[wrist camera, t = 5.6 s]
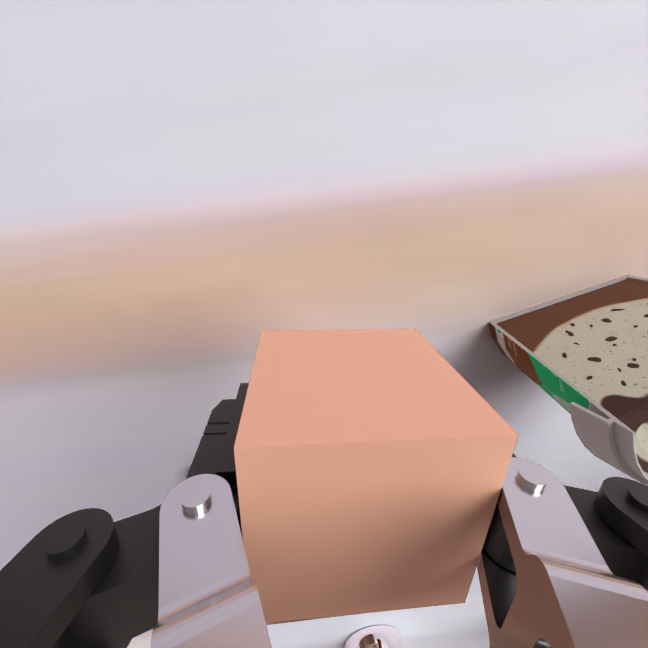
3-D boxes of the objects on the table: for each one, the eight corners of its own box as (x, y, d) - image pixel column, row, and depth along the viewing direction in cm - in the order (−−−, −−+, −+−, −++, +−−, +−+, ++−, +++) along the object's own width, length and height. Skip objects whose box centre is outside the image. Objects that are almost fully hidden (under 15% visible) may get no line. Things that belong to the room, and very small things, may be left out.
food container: (477, 402, 23) (610, 542, 13) (466, 329, 20) (618, 438, 11) (640, 347, 22) (890, 451, 13) (649, 267, 20) (960, 325, 11)
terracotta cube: (415, 329, 10) (519, 434, 6) (398, 448, 12) (464, 602, 7) (261, 330, 10) (233, 448, 5) (267, 454, 12) (251, 624, 7)
